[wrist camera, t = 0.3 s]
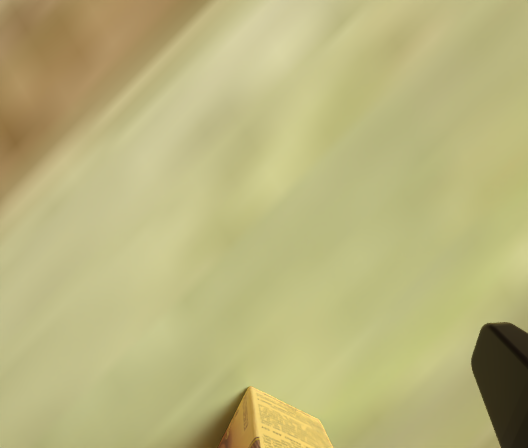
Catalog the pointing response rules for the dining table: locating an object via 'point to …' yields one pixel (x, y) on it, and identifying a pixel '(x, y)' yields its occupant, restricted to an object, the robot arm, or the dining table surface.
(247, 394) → the candy box
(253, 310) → the dining table surface
